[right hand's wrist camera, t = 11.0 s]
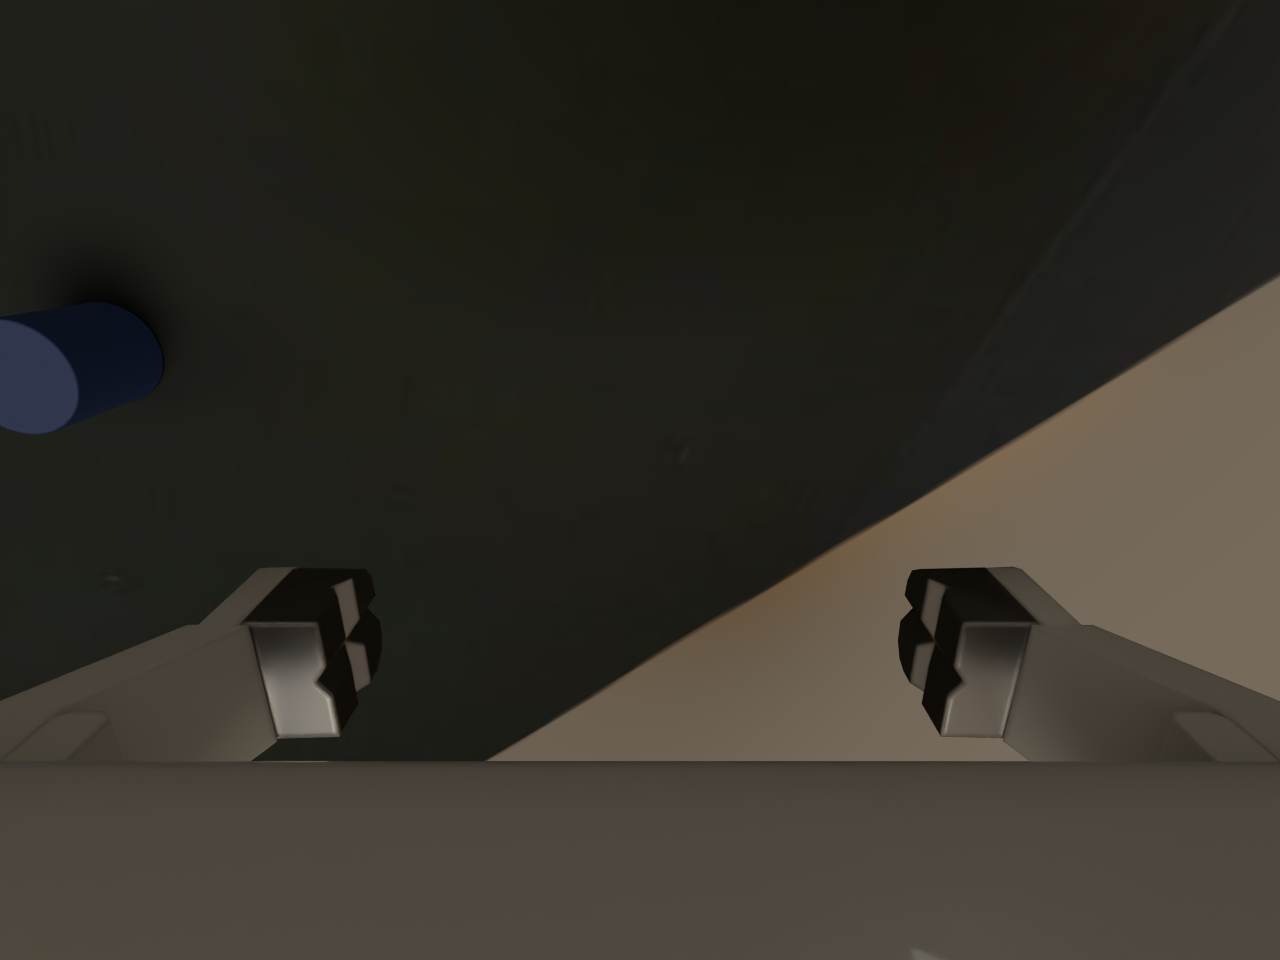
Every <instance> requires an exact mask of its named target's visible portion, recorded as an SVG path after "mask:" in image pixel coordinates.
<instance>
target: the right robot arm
mask: <svg viewBox="0 0 1280 960" xmlns="http://www.w3.org/2000/svg"><path fill="white" fill-rule="evenodd" d="M374 596H375V592H374V587H373V582H372V577H371V575H370V574H369V573H368V572H367V570H366V569H347V568H297V567H274V568H260V569H258V570H257V571H256V572H255V573H254V574H253V575H252V576H251V577H250V578H249V579H247V580H246V581H245V582H244V583H243V584H242V585H241V586H240V587H239V588H238V589H237V590H236V591H235V592H233V593H232V594H231V595H230V596H229V597H228V598H227V599H226V600H225V601H224V602H223V603H222V604H221V605H219V606H218V607H217V608H216V609H215V610H214V611H213V612H212V613H211V614H210V615H209V616H208V617H206V618H205V619H204V620H203V621H202V622H201V623H200V624H199V625H186V626H184V627H181V628H179V629H176V630H174V631H171V632H169V633H166V634H164V635H162V636H159V637H157V638H154V639H152V640H149V641H147V642H144V643H142V644H139V645H137V646H135V647H132V648H130V649H127V650H125V651H122V652H120V653H117V654H115V655H112V656H110V657H107V658H105V659H103V660H100V661H98V662H95V663H93V664H90V665H88V666H85V667H83V668H80V669H78V670H75V671H73V672H71V673H68V674H66V675H63V676H61V677H58V678H56V679H53V680H51V681H48V682H46V683H44V684H41V685H39V686H36V687H34V688H31V689H29V690H26V691H24V692H21V693H19V694H16V695H14V696H12V697H9V698H7V699H4V700H2V701H0V960H1280V701H1278V700H1275V699H1273V698H1270V697H1268V696H1265V695H1263V694H1261V693H1258V692H1256V691H1253V690H1251V689H1248V688H1246V687H1243V686H1241V685H1239V684H1236V683H1234V682H1231V681H1229V680H1226V679H1224V678H1221V677H1219V676H1216V675H1214V674H1212V673H1209V672H1207V671H1204V670H1202V669H1199V668H1197V667H1194V666H1192V665H1189V664H1187V663H1185V662H1182V661H1180V660H1177V659H1175V658H1172V657H1170V656H1167V655H1165V654H1162V653H1160V652H1158V651H1155V650H1153V649H1150V648H1148V647H1145V646H1143V645H1140V644H1138V643H1136V642H1133V641H1131V640H1128V639H1126V638H1123V637H1121V636H1118V635H1116V634H1113V633H1111V632H1109V631H1106V630H1104V629H1101V628H1099V627H1096V626H1094V625H1081V624H1080V623H1079V622H1078V621H1077V620H1076V619H1075V618H1074V617H1072V616H1071V615H1070V614H1069V613H1068V612H1067V611H1066V610H1065V609H1064V608H1063V607H1062V606H1061V605H1060V604H1059V603H1057V602H1056V601H1055V600H1054V599H1053V598H1052V597H1051V596H1050V595H1049V594H1048V593H1047V592H1046V591H1045V590H1043V589H1042V588H1041V587H1040V586H1039V585H1038V584H1037V583H1036V582H1035V581H1034V580H1033V579H1032V578H1031V577H1029V576H1028V575H1027V574H1026V573H1025V572H1024V571H1023V570H1022V569H1019V568H1015V567H996V568H945V569H918V570H912V572H911V574H910V576H909V578H908V581H907V586H906V591H905V596H906V598H907V599H908V601H909V603H910V604H911V606H912V607H913V608H912V609H911V610H910V612H909V613H908V614H907V615H906V616H905V617H904V618H903V619H902V620H901V621H900V628H899V636H898V646H899V657H900V661H901V664H902V668H903V671H904V673H905V675H906V677H907V678H908V680H909V682H910V683H911V684H913V685H914V686H916V687H918V688H919V689H921V690H922V691H924V694H923V700H922V705H923V707H924V708H925V710H926V712H927V713H928V715H929V717H930V719H931V720H932V722H933V724H934V725H935V727H936V729H937V731H938V732H939V734H940V736H941V737H976V738H1003V741H1004V742H1005V743H1006V744H1008V745H1009V746H1010V747H1012V748H1013V749H1014V750H1016V751H1017V752H1019V753H1020V754H1021V755H1022V756H1024V757H1025V758H1026V759H1028V760H1029V761H251V760H253V759H254V758H255V757H257V756H258V755H259V754H261V753H262V752H263V751H265V750H266V749H267V748H269V747H270V746H271V745H273V744H274V743H275V742H277V738H303V737H339V736H340V734H341V732H342V731H343V729H344V727H345V726H346V724H347V722H348V720H349V719H350V717H351V715H352V714H353V712H354V710H355V708H356V707H357V705H358V699H357V694H356V691H358V690H359V689H361V688H363V687H364V686H366V685H367V684H369V683H370V682H371V680H372V678H373V676H374V675H375V673H376V671H377V668H378V664H379V660H380V656H381V651H382V634H381V627H380V621H379V620H378V619H377V618H376V617H375V616H374V615H373V614H372V613H371V612H370V610H369V609H368V608H367V607H368V606H369V604H370V603H371V601H372V599H373V598H374Z"/></svg>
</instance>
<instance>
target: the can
mask: <svg viewBox="0 0 1280 960" xmlns="http://www.w3.org/2000/svg"><path fill="white" fill-rule="evenodd" d="M162 371H163V358H162V352H161V349H160V346H159V344H158V342H157V340H156V338H155V336H154V334H153V333H152V332H151V330H150V329H149V328H148V327H147V326H146V324H145V323H144V322H143V321H141V320H140V319H139V318H138V317H137V316H135V315H134V314H132V313H131V312H129V311H127V310H126V309H123V308H121V307H119V306H116V305H113V304H109V303H104V302H89V303H83V304H77V305H71V306H65V307H59V308H53V309H47V310H41V311H35V312H28V313H22V314H16V315H10V316H4V317H0V425H1V426H2V427H5V428H7V429H10V430H13V431H16V432H21V433H26V434H44V433H49V432H53V431H55V430H58V429H61V428H63V427H66V426H69V425H71V424H74V423H77V422H79V421H82V420H84V419H87V418H90V417H92V416H95V415H98V414H100V413H103V412H105V411H108V410H111V409H113V408H116V407H118V406H121V405H124V404H126V403H129V402H132V401H134V400H137V399H139V398H142V397H144V396H146V395H147V394H149V393H150V392H151V391H152V390H153V389H154V388H155V387H156V386H157V384H158V382H159V380H160V378H161V375H162Z"/></svg>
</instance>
